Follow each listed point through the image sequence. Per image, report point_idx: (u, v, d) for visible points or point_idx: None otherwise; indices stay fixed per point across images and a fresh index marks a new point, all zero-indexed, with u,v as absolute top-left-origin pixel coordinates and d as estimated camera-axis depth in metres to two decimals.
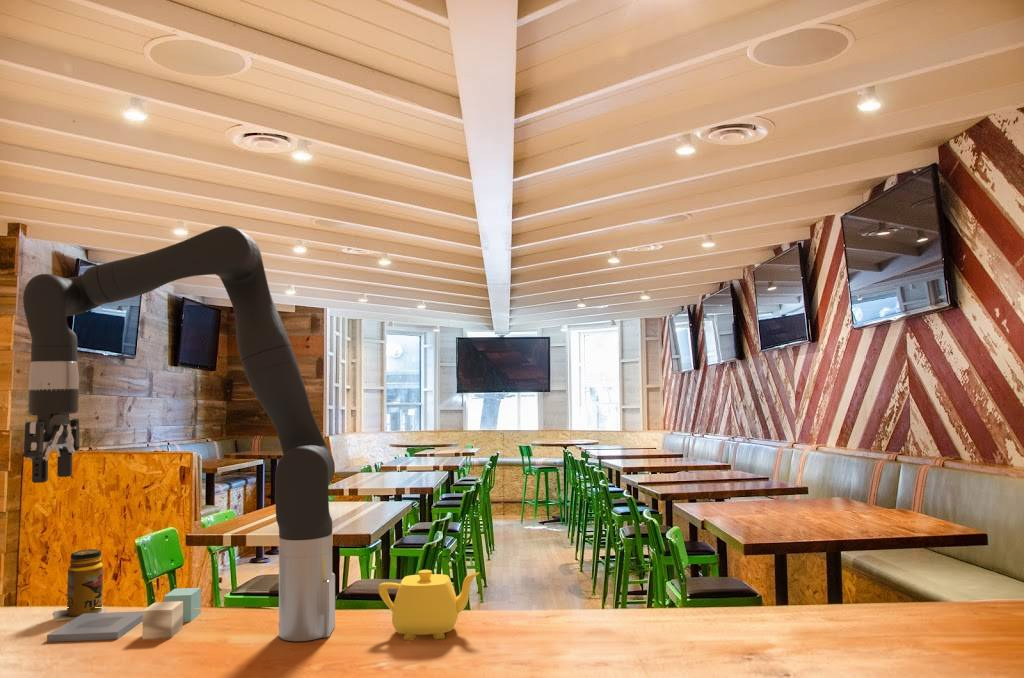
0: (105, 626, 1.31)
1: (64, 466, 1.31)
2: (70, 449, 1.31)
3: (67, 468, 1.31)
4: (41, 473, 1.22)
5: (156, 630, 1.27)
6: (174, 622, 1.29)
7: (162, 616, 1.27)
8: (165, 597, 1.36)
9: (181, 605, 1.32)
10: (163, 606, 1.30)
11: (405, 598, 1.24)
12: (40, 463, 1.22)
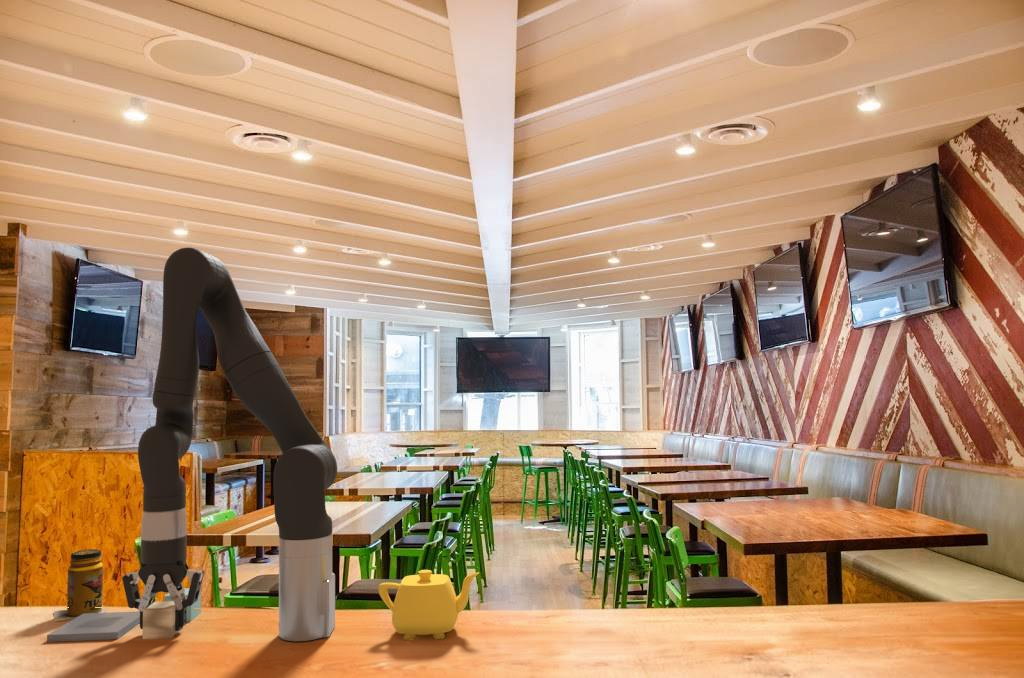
0: (105, 626, 1.31)
1: None
2: None
3: None
4: None
5: (156, 629, 1.27)
6: (174, 621, 1.29)
7: (162, 616, 1.27)
8: (165, 597, 1.36)
9: None
10: (163, 605, 1.30)
11: (405, 598, 1.24)
12: (186, 609, 1.31)
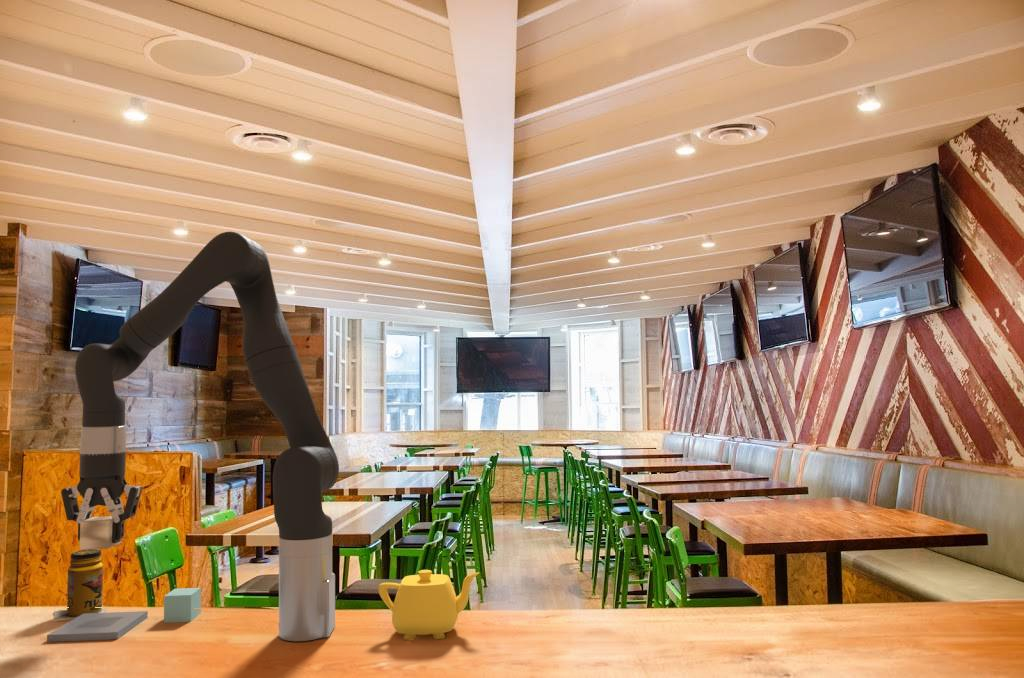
0: (105, 626, 1.31)
1: None
2: None
3: None
4: None
5: (92, 540, 1.31)
6: (111, 534, 1.33)
7: (98, 527, 1.32)
8: (165, 597, 1.36)
9: None
10: (101, 519, 1.34)
11: (405, 598, 1.24)
12: (123, 523, 1.35)
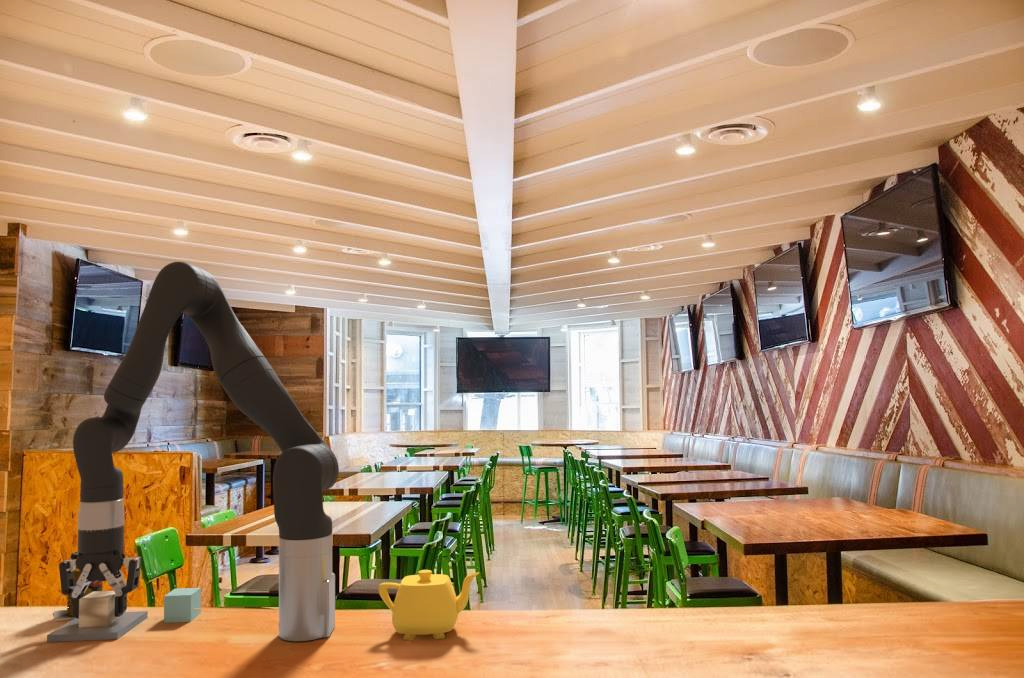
0: (105, 626, 1.31)
1: None
2: (87, 586, 1.34)
3: None
4: None
5: (92, 618, 1.30)
6: (110, 610, 1.32)
7: (98, 605, 1.31)
8: (165, 597, 1.36)
9: None
10: (100, 595, 1.33)
11: (405, 598, 1.24)
12: (126, 596, 1.34)
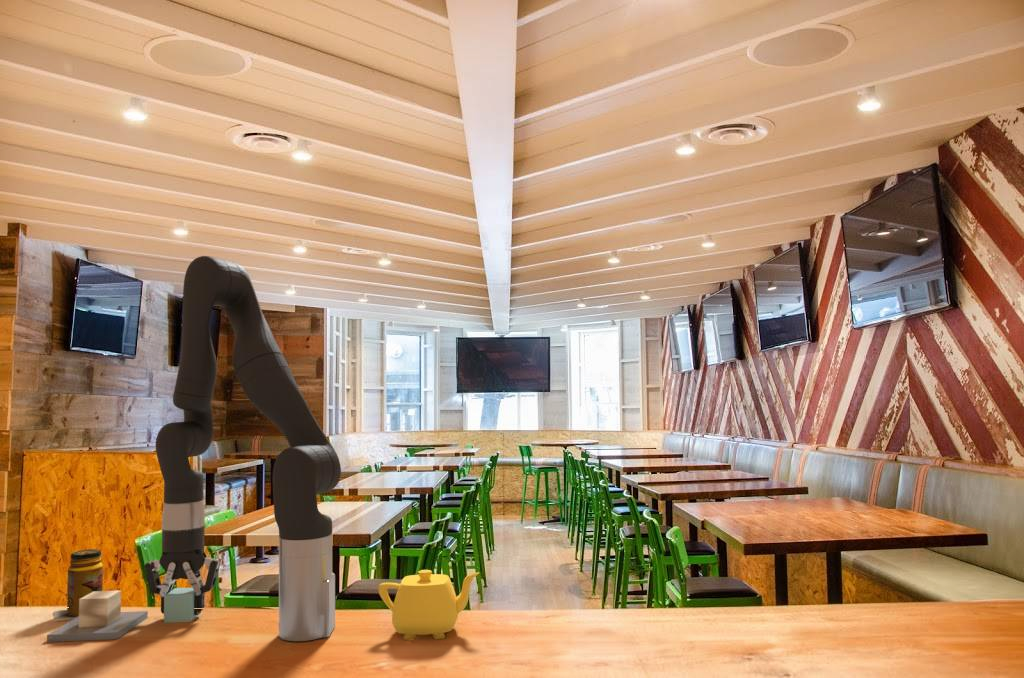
0: (105, 626, 1.31)
1: None
2: None
3: None
4: (203, 604, 1.40)
5: (92, 618, 1.30)
6: (110, 610, 1.32)
7: (98, 605, 1.31)
8: (165, 597, 1.36)
9: (119, 594, 1.35)
10: (100, 595, 1.33)
11: (405, 598, 1.24)
12: (204, 595, 1.40)
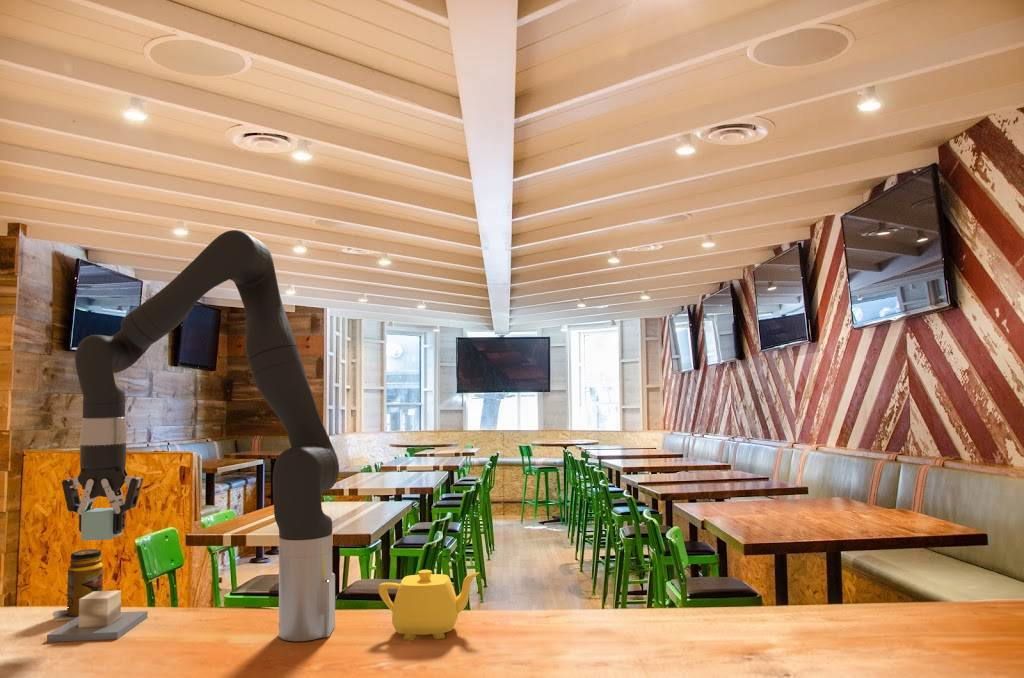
0: (105, 626, 1.31)
1: None
2: None
3: None
4: (123, 523, 1.35)
5: (92, 618, 1.30)
6: (110, 610, 1.32)
7: (98, 605, 1.31)
8: (83, 514, 1.32)
9: (119, 594, 1.35)
10: (100, 595, 1.33)
11: (405, 598, 1.24)
12: (124, 514, 1.35)
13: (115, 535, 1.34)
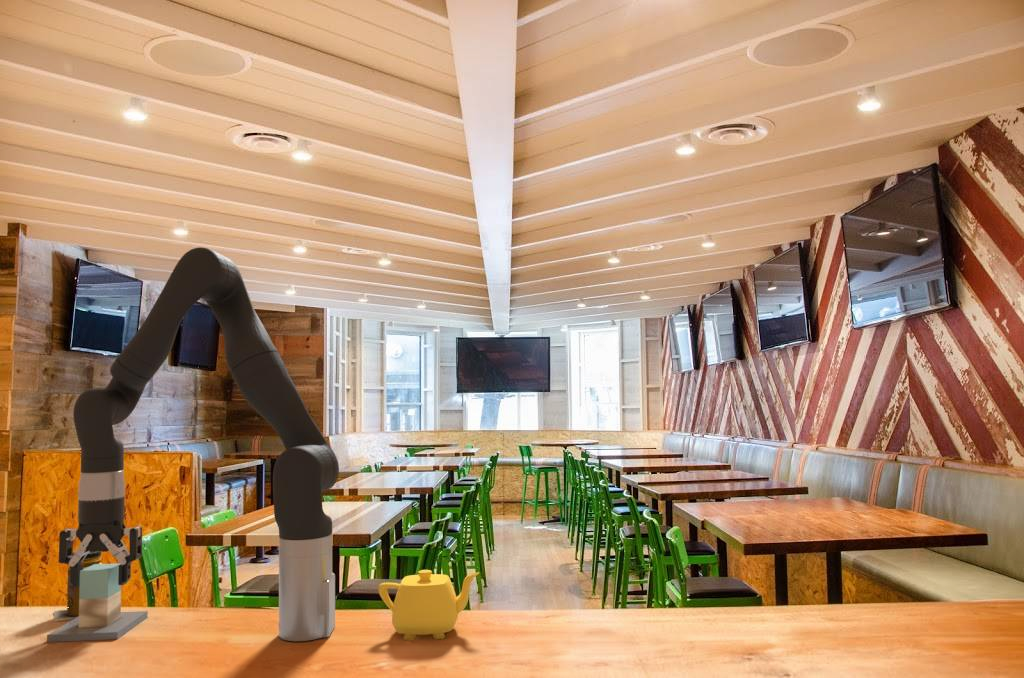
0: (105, 626, 1.31)
1: None
2: (85, 556, 1.35)
3: None
4: None
5: (92, 618, 1.30)
6: (110, 610, 1.32)
7: (98, 605, 1.31)
8: (81, 572, 1.31)
9: (119, 594, 1.35)
10: None
11: (405, 598, 1.24)
12: (130, 565, 1.34)
13: (114, 592, 1.33)
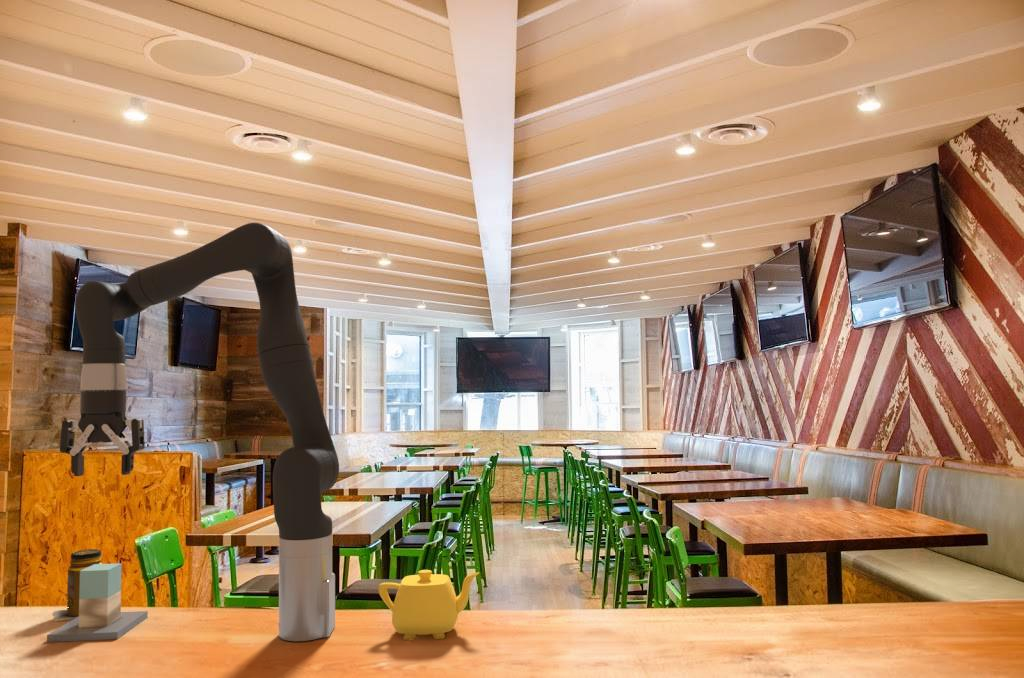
0: (105, 626, 1.31)
1: (81, 465, 1.35)
2: None
3: (82, 467, 1.35)
4: None
5: (92, 618, 1.30)
6: (110, 610, 1.32)
7: (98, 605, 1.31)
8: (81, 572, 1.31)
9: (119, 594, 1.35)
10: None
11: (405, 598, 1.24)
12: (133, 456, 1.36)
13: (114, 592, 1.33)
